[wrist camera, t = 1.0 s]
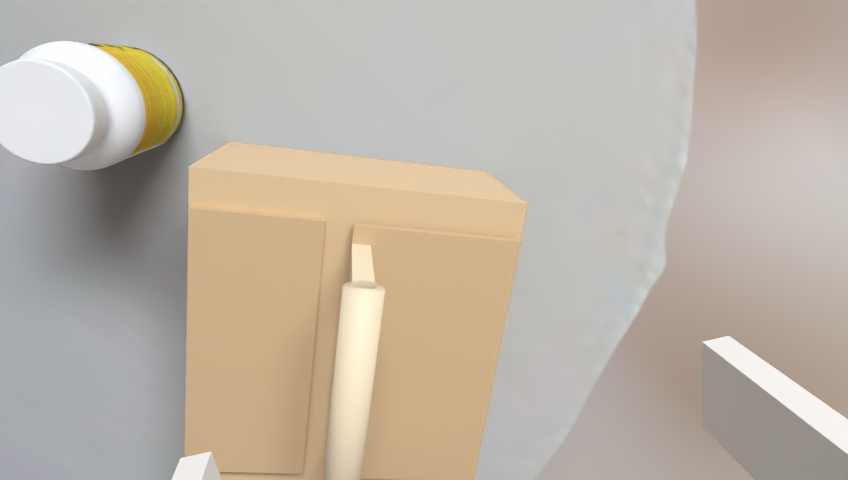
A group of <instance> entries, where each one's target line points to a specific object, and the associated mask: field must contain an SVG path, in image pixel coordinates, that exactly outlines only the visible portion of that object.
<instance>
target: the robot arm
mask: <svg viewBox="0 0 848 480" xmlns="http://www.w3.org/2000/svg"><path fill="white" fill-rule="evenodd" d="M702 427H703V428H704V429H705V430H706V431H707V432H708V433H709V434H710V435H711V436H712V437H713V438H714V439H715V440H716V441H718V443H719V444H720V445H721V446H722V447H723V448H724V449H725V450H726V451H727V452H728V453H729V454H730V455H731V456H732V457H733V458H734V459H735V460H736V461H737V462H738V463H739V464H740V465H741V466H742V467H743V468H744V469H745V470H746V471H747V472H748V473H749V474H750V475H751V476H752V477H753V478H754V479H755V480H848V419H846V418H845V417H843V416H842V415H841V414H839V413H838V412H836V411H835V410H833V409H832V408H830V407H829V406H828V405H826V404H825V403H823V402H822V401H820V400H819V399H818V398H816V397H815V396H814V395H812V394H811V393H809V392H808V391H806V390H805V389H804V388H802V387H801V386H799V385H798V384H796V383H795V382H794V381H792V380H791V379H789V378H788V377H786V376H785V375H784V374H782V373H781V372H779V371H778V370H777V369H775V368H774V367H772V366H771V365H769V364H768V363H767V362H765V361H764V360H762V359H761V358H760V357H758V356H757V355H755V354H754V353H752V352H751V351H750V350H748V349H746V348H745V347H744V346H742V345H741V344H739V343H738V342H737V341H735V340H734V339H733V338H731V337H730V336H726V337H722V338H718V339H713V340H708V341H704V342H702ZM172 480H221V477H220V474H219V471H218V468H217V465H216V463H215V460H214V457H213V454H212V451H211V452H206V453H202V454H197V455H193V456H188V457H184V458H180V461H179V463H178V466H177V468H176V470H175V473H174V475H173V477H172Z"/></svg>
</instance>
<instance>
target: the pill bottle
mask: <svg viewBox="0 0 848 480" xmlns="http://www.w3.org/2000/svg"><path fill="white" fill-rule="evenodd" d="M184 114H185V97H184V93H183V89H182V86H181V84H180V82H179V80H178V78H177V77H176V75H175V74H174V72H173V71H172V70H171V69H170V67H169V66H168V65H167V64H166V63H164V62H163V61H162V60H161V59H159V58H158V57H156V56H155V55H153V54H151V53H149V52H147V51H144V50H141V49H138V48H134V47H127V46H116V45H106V44H94V43H84V42H75V41H56V42H50V43H45V44H42V45H39V46H37V47H34V48H32V49H31V50H29V51H27V52H26V53H24V54H23V55H22V56H21V57H20V58H19V59H18V60H16V61H12V62H9V63H7V64H5V65H3V66H1V67H0V144H1V145H2V146H3V147H4V148H5V149H7V150H8V151H9V152H11V153H12V154H14V155H16V156H17V157H19V158H22V159H24V160H27V161H29V162H33V163H38V164H49V165H51V164H55V165H58V166H61V167H64V168H69V169H74V170H97V169H102V168H105V167H109V166H111V165H114V164H116V163H119V162H121V161H123V160H125V159H128V158H130V157H133V156H135V155H137V154H140V153H142V152H145V151H147V150H150V149H153V148H155V147H158V146H160V145H162V144H164V143H165V142H167V141H168V140H170V139H171V138H172V137H173V136H174V135H175V134H176V132H177V131H178V129H179V128H180V126H181V124H182V121H183V119H184Z"/></svg>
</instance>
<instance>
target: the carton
mask: <svg viewBox="0 0 848 480" xmlns="http://www.w3.org/2000/svg"><path fill="white" fill-rule="evenodd" d="M527 206H528V203H526V202H525V201H524V200H522V199H521V198H520V197H518V196H517V195H516V194H514V193H513V192H512V191H511V190H509V189H508V188H507V187H505V186H504V185H503V184H501V183H500V182H499V181H497V180H496V179H495V178H493V177H492V176H491V175H489V174H488V173H487V172H483V171H475V170H466V169H458V168H450V167H441V166H433V165H424V164H416V163H407V162H399V161H391V160H382V159H374V158H365V157H357V156H348V155H340V154H331V153H323V152H315V151H306V150H298V149H289V148H281V147H272V146H264V145H256V144H247V143H239V142H229V143H227V144H225V145H224V146H222V147H220V148H219V149H217V150H215V151H214V152H212V153H210V154H209V155H207V156H205V157H204V158H202V159H200V160H199V161H197V162H195V163H194V164H192V165H190V166H189V185H188V249H187V312H186V376H185V440H184V457H188V456H193V455H197V454H202V453H206V452H211V451H212V454H213V457H214V460H215V463H216V465H217V468H218V471H219V474H220V477H221V480H323V474H324V464H325V454H326V445H327V435H328V425H329V415H330V406H331V396H332V386H333V376H334V367H335V357H336V347H337V337H338V328H339V318H340V308H341V298H342V289H343V285H344V284H345V283H347V282H348V273H349V263H350V254H351V244H352V235H353V225H354V223H363V224H373V225H383V226H393V227H403V228H413V229H423V230H433V231H444V232H454V233H464V234H474V235H484V236H494V237H504V238H515V239H518V240H519V241H520V242H521V237H522V232H523V226H524V221H525V216H526V211H527ZM361 480H399V479H361Z"/></svg>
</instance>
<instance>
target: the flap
mask: <svg viewBox="0 0 848 480" xmlns="http://www.w3.org/2000/svg"><path fill="white" fill-rule="evenodd" d="M520 244H521V242H520V241H519V240H518V239H515V238H504V237H494V236H484V235H474V234H464V233H454V232H444V231H433V230H423V229H413V228H403V227H393V226H383V225H373V224H363V223H354V225H353V235H352V244H351V254H350V263H349V273H348V282H347V283H345V284H344V285H343V289H342V298H341V308H340V318H339V328H338V337H337V347H336V357H335V367H334V376H333V386H332V396H331V406H330V415H329V425H328V435H327V445H326V454H325V464H324V474H323V480H361V479H399V480H474V478H475V473H476V467H477V462H478V457H479V452H480V447H481V442H482V437H483V432H484V427H485V422H486V417H487V412H488V407H489V402H490V396H491V391H492V386H493V381H494V376H495V371H496V366H497V361H498V356H499V351H500V346H501V341H502V336H503V331H504V325H505V320H506V315H507V310H508V305H509V300H510V295H511V290H512V285H513V280H514V275H515V270H516V265H517V260H518V254H519V249H520Z"/></svg>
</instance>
